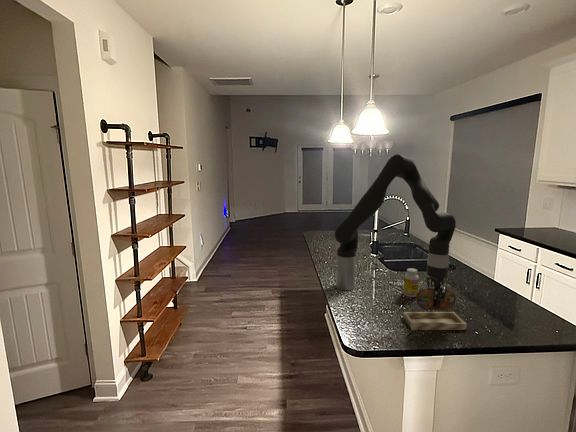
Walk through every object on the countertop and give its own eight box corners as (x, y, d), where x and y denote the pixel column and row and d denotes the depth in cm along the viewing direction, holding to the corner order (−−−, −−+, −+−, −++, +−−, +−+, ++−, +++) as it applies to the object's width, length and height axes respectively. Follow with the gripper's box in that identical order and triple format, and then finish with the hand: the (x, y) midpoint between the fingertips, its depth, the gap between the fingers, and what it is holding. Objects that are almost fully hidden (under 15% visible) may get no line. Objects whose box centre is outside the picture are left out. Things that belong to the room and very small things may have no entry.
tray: (411, 329, 125) (412, 323, 125) (402, 317, 135) (403, 312, 135) (466, 329, 125) (466, 323, 125) (453, 317, 135) (453, 311, 135)
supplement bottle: (411, 298, 153) (412, 272, 151) (400, 293, 159) (401, 268, 157) (420, 296, 156) (422, 270, 154) (410, 291, 162) (411, 266, 160)
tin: (417, 310, 128) (418, 290, 126) (414, 306, 131) (415, 287, 129) (455, 310, 128) (457, 290, 126) (451, 306, 131) (453, 286, 129)
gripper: (456, 270, 119) (452, 313, 122) (439, 258, 133) (436, 298, 136) (436, 270, 119) (432, 313, 122) (421, 258, 133) (418, 298, 136)
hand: (434, 305), depth 129 cm, fingers closed on tin, 2 cm apart
